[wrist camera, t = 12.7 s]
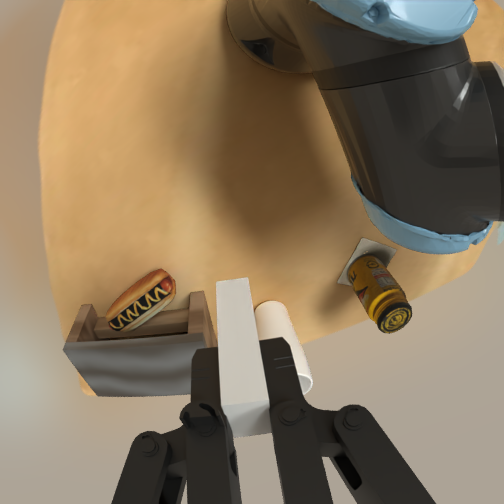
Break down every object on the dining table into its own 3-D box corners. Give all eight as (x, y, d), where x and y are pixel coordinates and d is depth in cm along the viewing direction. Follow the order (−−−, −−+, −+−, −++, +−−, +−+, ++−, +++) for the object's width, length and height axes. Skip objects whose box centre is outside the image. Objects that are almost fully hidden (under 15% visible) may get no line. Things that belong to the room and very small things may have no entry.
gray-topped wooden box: (81, 305, 44) (62, 349, 35) (203, 290, 45) (202, 340, 36) (108, 352, 50) (97, 396, 42) (217, 344, 51) (219, 391, 43)
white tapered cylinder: (267, 288, 46) (286, 367, 33) (299, 306, 48) (324, 381, 36) (240, 316, 48) (250, 395, 35) (272, 331, 51) (288, 406, 38)
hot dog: (186, 278, 43) (183, 301, 39) (129, 320, 46) (123, 342, 42) (161, 256, 41) (156, 277, 37) (106, 302, 44) (98, 323, 40)
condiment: (336, 282, 47) (364, 336, 37) (361, 236, 43) (400, 285, 33) (371, 290, 49) (401, 340, 39) (396, 248, 45) (435, 294, 35)
